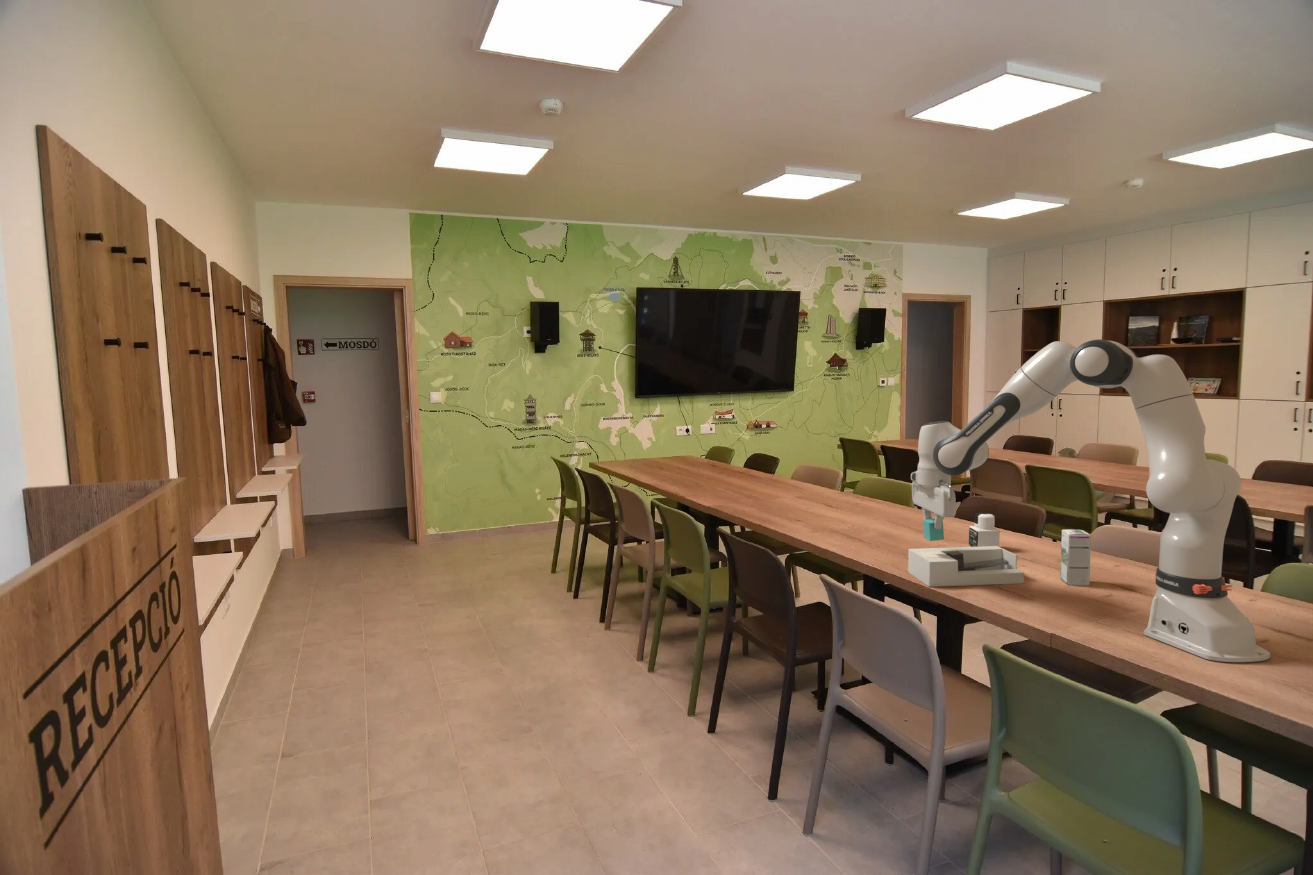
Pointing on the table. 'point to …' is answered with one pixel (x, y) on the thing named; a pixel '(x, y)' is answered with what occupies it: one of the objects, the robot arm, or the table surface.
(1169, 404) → the robot arm
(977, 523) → the medicine bottle
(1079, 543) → the syrup box
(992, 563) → the ejector lever
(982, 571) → the pocket board
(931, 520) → the teal block
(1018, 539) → the table surface
